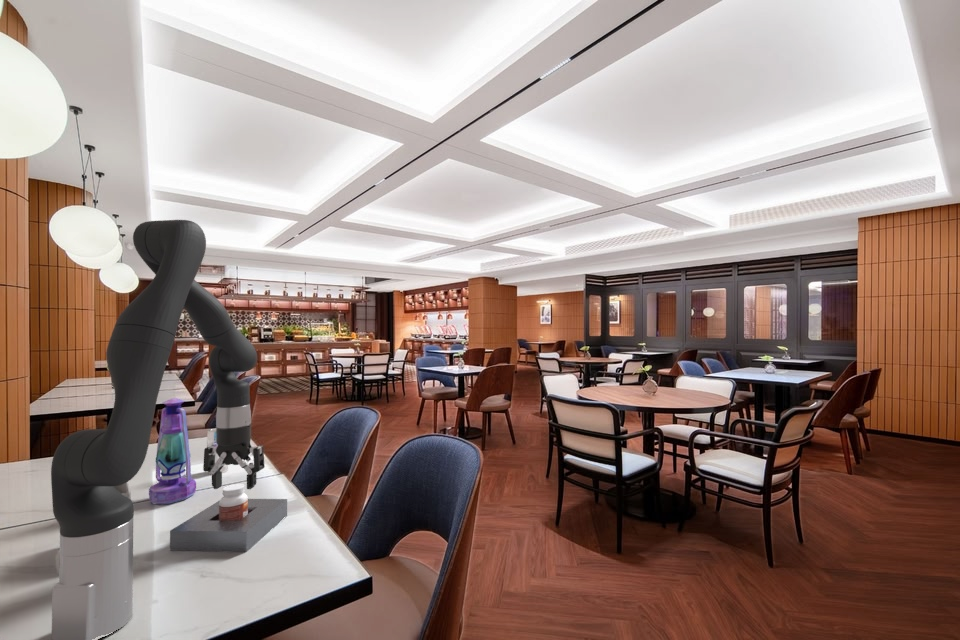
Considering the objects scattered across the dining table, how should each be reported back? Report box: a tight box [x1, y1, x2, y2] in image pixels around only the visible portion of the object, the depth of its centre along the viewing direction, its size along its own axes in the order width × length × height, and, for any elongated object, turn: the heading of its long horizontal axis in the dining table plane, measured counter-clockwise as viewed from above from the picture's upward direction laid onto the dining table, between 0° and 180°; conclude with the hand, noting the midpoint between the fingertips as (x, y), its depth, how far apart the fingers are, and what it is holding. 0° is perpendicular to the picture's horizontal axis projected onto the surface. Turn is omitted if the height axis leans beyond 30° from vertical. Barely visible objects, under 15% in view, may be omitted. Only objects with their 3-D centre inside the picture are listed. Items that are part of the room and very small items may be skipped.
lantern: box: [148, 397, 197, 505], centre depth 124 cm, size 13×12×30 cm
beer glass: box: [206, 427, 229, 475], centre depth 147 cm, size 7×7×15 cm
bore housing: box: [169, 498, 288, 553], centre depth 103 cm, size 18×18×4 cm
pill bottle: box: [218, 483, 249, 521], centre depth 103 cm, size 6×6×11 cm
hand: (234, 488), depth 103 cm, fingers open, 8 cm apart
